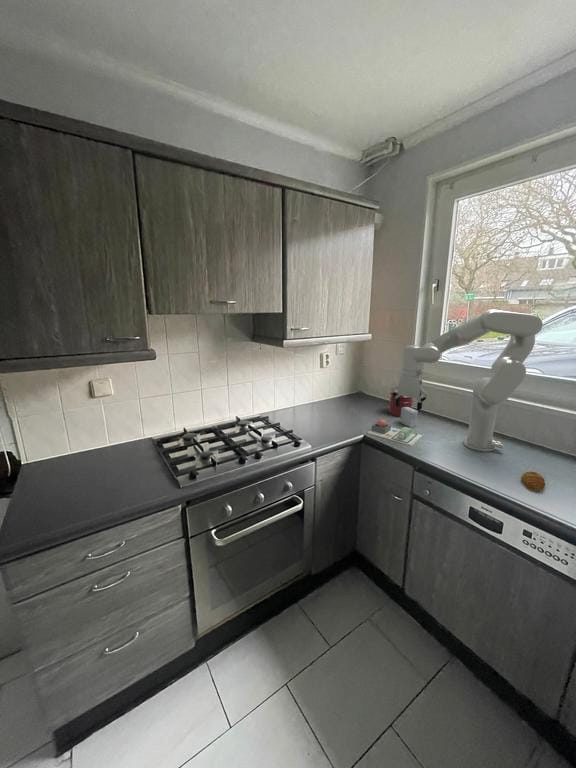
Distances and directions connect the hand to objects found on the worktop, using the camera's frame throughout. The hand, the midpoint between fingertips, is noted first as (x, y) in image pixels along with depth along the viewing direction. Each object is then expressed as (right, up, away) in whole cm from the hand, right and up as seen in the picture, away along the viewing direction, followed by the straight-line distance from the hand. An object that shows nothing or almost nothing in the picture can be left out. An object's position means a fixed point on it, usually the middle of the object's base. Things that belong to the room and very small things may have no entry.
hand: (408, 408), depth 149 cm
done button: (-9, -10, +11) cm, 18 cm away
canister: (+9, -6, +37) cm, 39 cm away
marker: (0, -14, +4) cm, 15 cm away
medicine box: (+8, -11, +20) cm, 24 cm away
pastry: (+31, -25, -35) cm, 54 cm away
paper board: (-4, -14, +7) cm, 16 cm away
